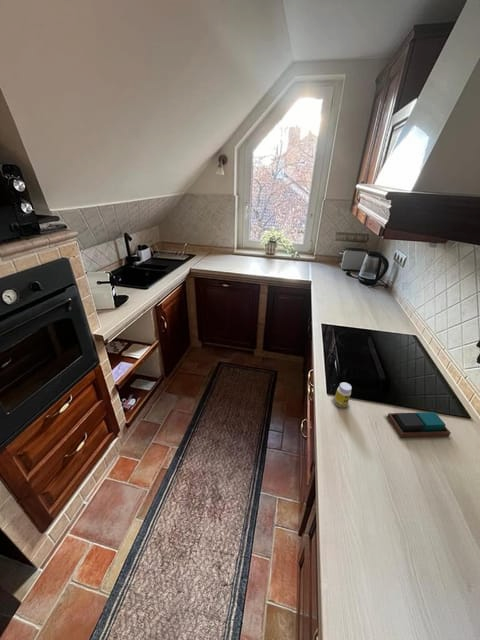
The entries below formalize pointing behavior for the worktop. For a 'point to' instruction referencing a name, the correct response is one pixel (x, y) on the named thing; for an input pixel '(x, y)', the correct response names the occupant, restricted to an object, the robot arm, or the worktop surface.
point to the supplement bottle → (343, 394)
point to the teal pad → (431, 422)
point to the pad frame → (443, 433)
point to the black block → (409, 422)
